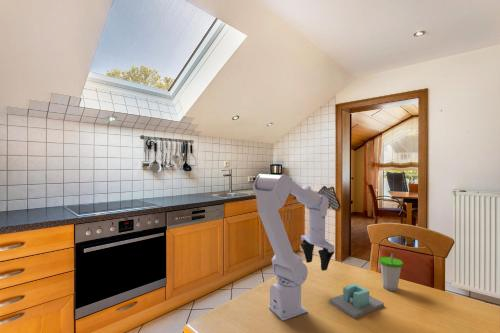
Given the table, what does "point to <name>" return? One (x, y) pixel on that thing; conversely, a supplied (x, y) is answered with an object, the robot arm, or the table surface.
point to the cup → (390, 272)
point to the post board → (353, 310)
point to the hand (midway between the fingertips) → (316, 265)
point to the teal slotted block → (356, 295)
